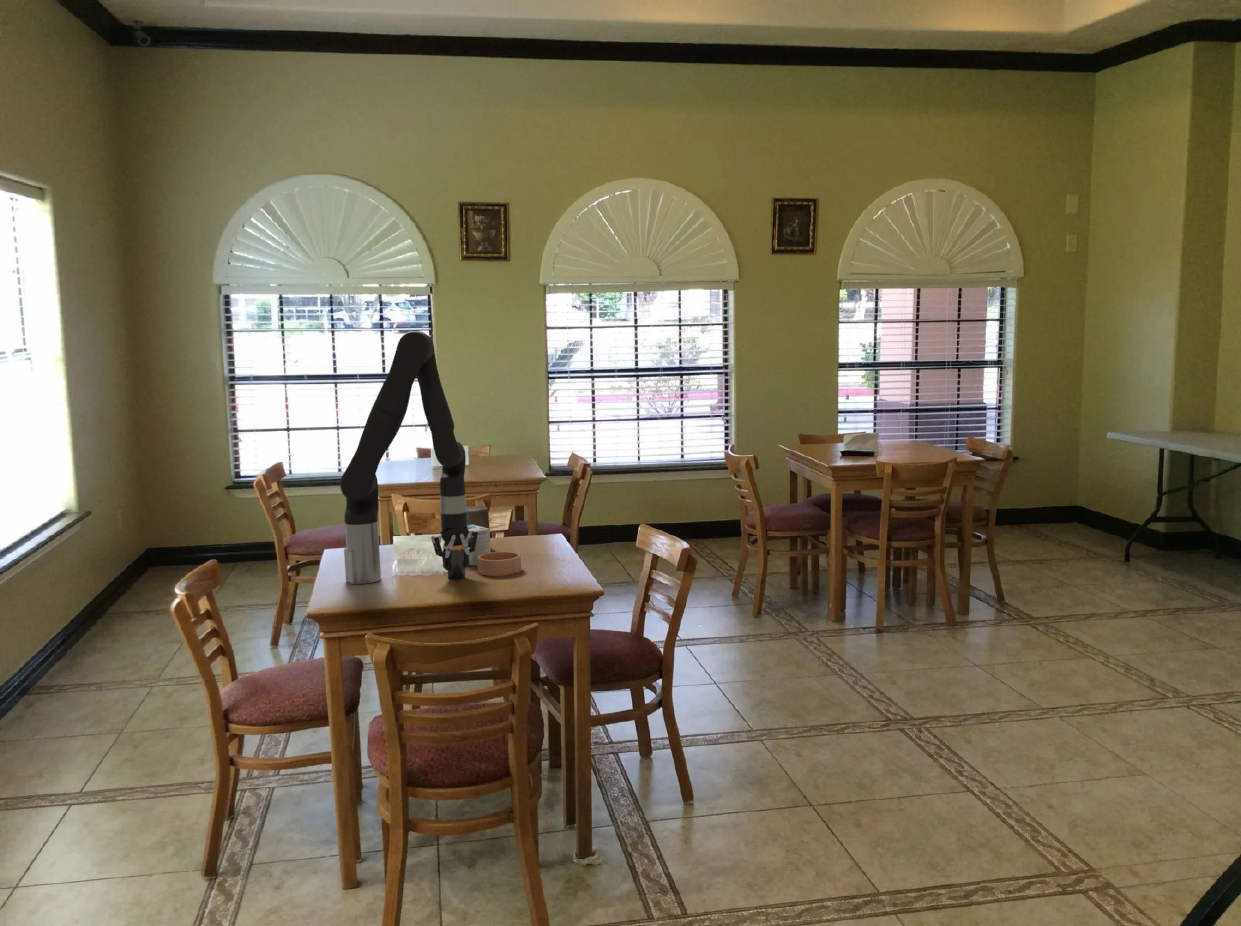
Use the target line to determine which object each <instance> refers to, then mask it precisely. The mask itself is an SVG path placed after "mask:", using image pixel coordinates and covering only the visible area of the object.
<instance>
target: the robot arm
mask: <svg viewBox="0 0 1241 926" xmlns="http://www.w3.org/2000/svg"><path fill="white" fill-rule="evenodd" d="M435 351H436V350H435V344H434V341H433V339H432V338H431V336H429V335H428V334H427V333H425V332H421V331H416V330H414V331H413V330H411V331H407V332H406V333H404V334H403V335H402V336H401V337H400V339H399V341H398V342H397V345H396V350H395V352H394V357H393V359H392V363H391V364H390V365H391V366H390V369H389V371H388V374H387V376H386V378H385V380H384V381H383V383H382V386H381V388H380V390H379V391H378V394H377V396H376V399H375V400H374V402H373V404H372V407H371V409H370V411H369V414H368V416H367V419H366V423H365V425H364V428H363V430H362V432H361V435H360V439H359V442H358V445H357V447H356V450H355V452H354V454H353V456H352V458H351V460H350V462H349V463H348V466H347V467H346V469H345V471H344V472H343V474H342V476H341V477H340V484H339V485H340V486H339V487H340V491H341V494H342V495H343V496H344V497H345V500H346V504H345V505H346V506H345V511H344V528H345V529H344V530H345V532H344V533H345V548H344V549H343V551H344V552H343V553H344V555H343V556H344V569H345V570H344V571H345V573H344V574H345V581H346V582H348V583H349V584H351V585H363V584H371V583H375V582H378V581H379V582H380V581H381V580H382V571H381V570H382V569H381V556H380V555H381V552H380V537H379V536H380V535H379V519H378V515H379V505H380V504H379V484H378V477H377V475H376V474H377V471H378V467H379V465H380V463H381V461H382V458H383V457H384V455H385V453H386V452H387V450H388V449H389V447H390V446H391V444H392V442H393V441H394V439H395V438H396V436H397V434H398V432H399V430H400V428H401V426H402V423H403V421H404V419H405V416H406V414H407V411H408V408H409V403H410V398H411V391H412V387H413V384H414V383H415V380H416V378H417V382H418V386H419V389H420V390H419V391H420V395H421V402H422V408H423V412H424V416H425V419H426V422H427V425H428V429H429V431H430V434H431V439H432V440H431V441H432V445H433V446H432V447H433V451H434V454H435V457H436V459H437V462H438V463H439V464H440V465H441V467H442V469H441V470H442V471H441V473H442V474H441V477H440V480H439V495H440V498H439V499H440V500H439V512H440V527H441V531H440V534H437V535H436V536H435V535H432V536H431V538H430V539H431V542H432V545H433V549H434V552H435V556H438V557H441V559H442V568H443V569H444V570H445V571H447V572H448V570H450V558H448V557H449V554H450V551H451V550H452V546H453V545H459V544H464V558H465V569H466V568H468V566H470V565H469V554H470V553H471V552H474V551H475V547H476V541H477V535H478V533H477V532H476V531H469V530H468V528H467V507H468V506H467V498H466V484H465V482H466V481H465V472H466V471H465V470H466V461H467V460H466V459H467V458H466V450H465V449H466V448H464V446H463V444H462V443H461V442H459V441H457V439H456V436H455V431H454V430H455V422H454V420H453V416H452V413H451V410H450V407H449V403H448V401H447V398H446V395H445V392H444V388H443V386H442V383H441V379H440V378H441V377H440V374H439V371H438V366H437V358H436V352H435ZM467 536H469V543H468V546H467V543H466V541H465V539H466V537H467ZM442 541H444V542H443V545H441V542H442ZM446 545H448V546H446ZM380 579H381V580H380Z"/></svg>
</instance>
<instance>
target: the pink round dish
mask: <svg viewBox="0 0 1241 926" xmlns="http://www.w3.org/2000/svg"><path fill="white" fill-rule="evenodd" d="M521 555H522V554H521V553H519V552H515V551H491V553H485V554H482V555H479V556H478V558H477V564H478V565H477V574H479V575H481V576H489V577H499V576H500V577H503V576H510V574H511V575H515V574H514V573H516V574H518V573H520V572H522V560H521V559H522V558H521V557H522V556H521Z"/></svg>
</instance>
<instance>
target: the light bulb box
mask: <svg viewBox="0 0 1241 926" xmlns="http://www.w3.org/2000/svg"><path fill="white" fill-rule="evenodd" d="M467 528H468V530H469V531H476V532H477V533H478V535H477V541H476V547H475V551H474V552H471V553H470V554H469V565H468V566H472V567H474V566H478V564H477V558H478V556H479V555H482V554H485V553H491V552H492V551H491V548H490V547H491V531H490V530H491V529H490V528H489V529H488V528H484V527H480V526H476V525H468V526H467ZM465 541H466V543H467V546H468V543H469V536H467V537H466V539H465Z"/></svg>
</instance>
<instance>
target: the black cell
mask: <svg viewBox="0 0 1241 926" xmlns="http://www.w3.org/2000/svg"><path fill="white" fill-rule="evenodd" d="M446 546H448V545H446ZM448 558H450V570H448V571H447V580H449V581H462V580H465V579H466V568H465V558H464V544H459V545H453V546H452V550H451V551H450V554H449V557H448Z"/></svg>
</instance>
